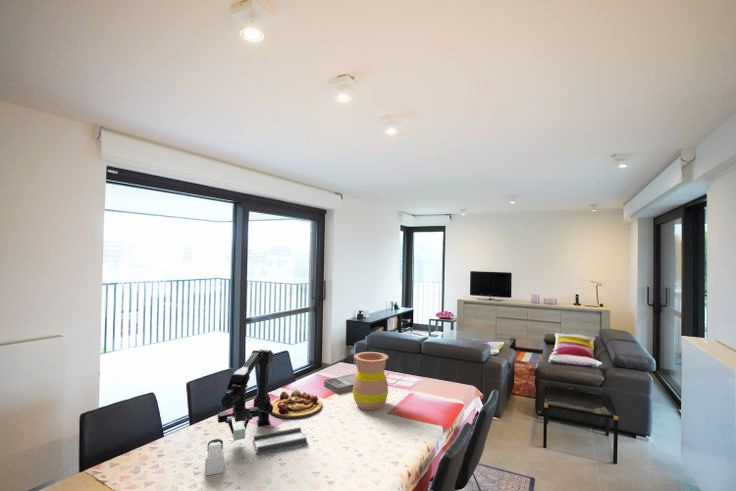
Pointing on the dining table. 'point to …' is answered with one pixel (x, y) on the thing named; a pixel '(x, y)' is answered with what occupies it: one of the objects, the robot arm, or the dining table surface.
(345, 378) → the hard drive
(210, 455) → the white handled block
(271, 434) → the rail board
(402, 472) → the dining table surface
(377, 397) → the vase
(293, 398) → the wooden plate with food
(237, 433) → the block
